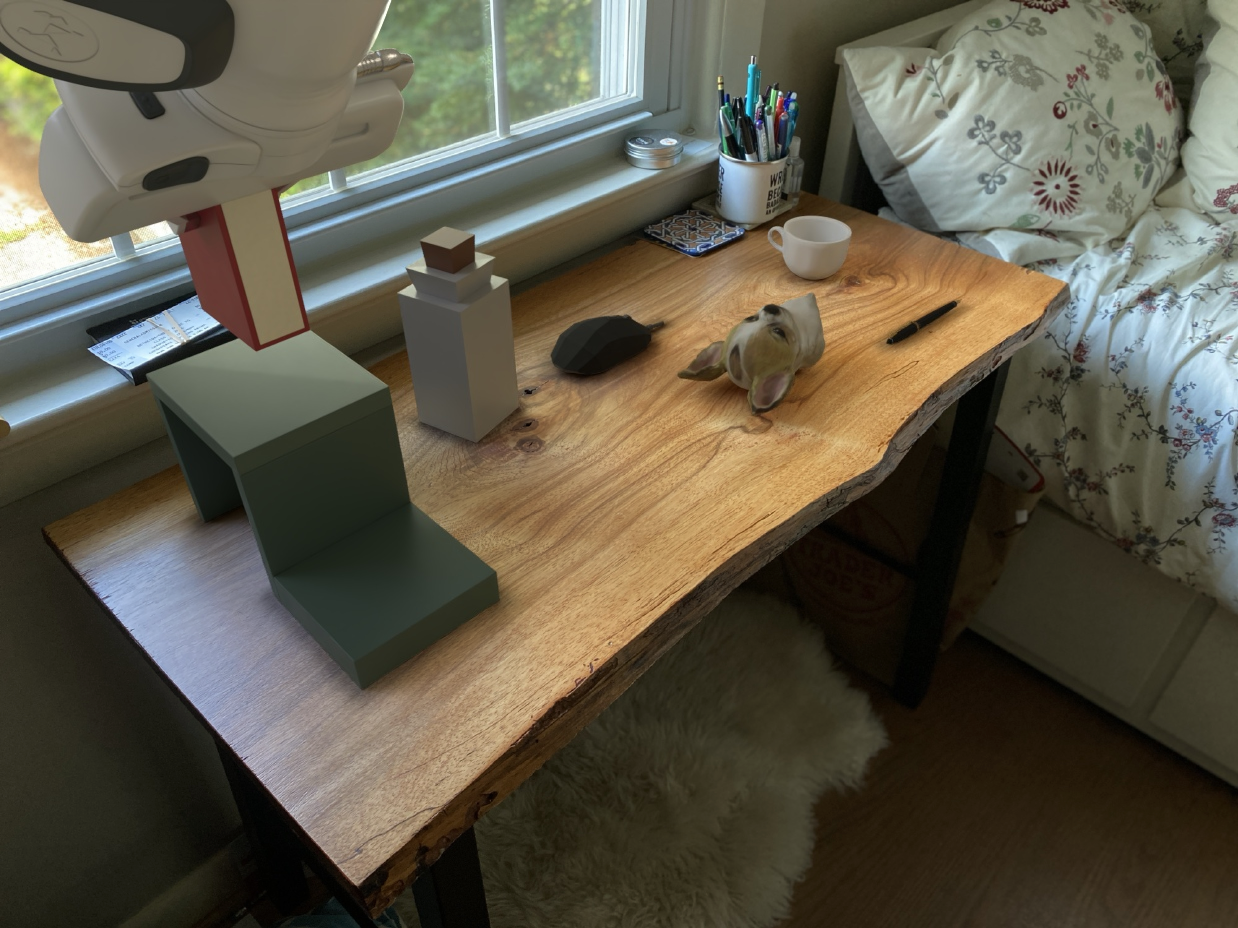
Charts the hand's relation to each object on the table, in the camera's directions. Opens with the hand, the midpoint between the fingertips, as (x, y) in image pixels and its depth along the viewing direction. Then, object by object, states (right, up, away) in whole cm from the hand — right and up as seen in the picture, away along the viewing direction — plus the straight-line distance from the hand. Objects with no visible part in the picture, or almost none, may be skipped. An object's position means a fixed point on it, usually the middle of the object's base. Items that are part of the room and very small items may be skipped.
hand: (220, 210), depth 60 cm
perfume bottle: (+11, -12, +29) cm, 33 cm away
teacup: (+48, +7, +53) cm, 71 cm away
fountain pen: (+59, -1, +42) cm, 72 cm away
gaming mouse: (+25, -4, +39) cm, 46 cm away
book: (+1, -6, +4) cm, 8 cm away
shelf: (+3, -23, +14) cm, 28 cm away
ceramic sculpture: (+40, -8, +33) cm, 53 cm away
